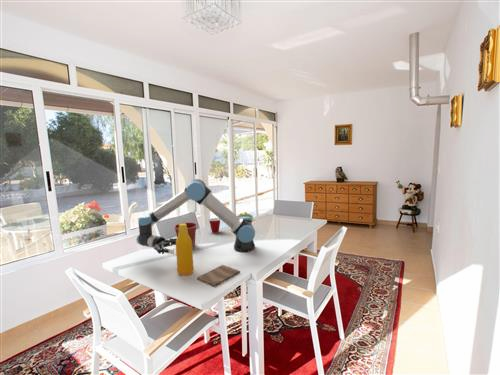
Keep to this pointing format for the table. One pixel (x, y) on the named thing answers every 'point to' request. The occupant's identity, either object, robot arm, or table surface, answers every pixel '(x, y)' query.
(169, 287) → the table surface
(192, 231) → the flower pot
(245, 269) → the table surface
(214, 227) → the plastic cup
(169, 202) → the robot arm
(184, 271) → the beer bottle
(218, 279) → the walnut board
